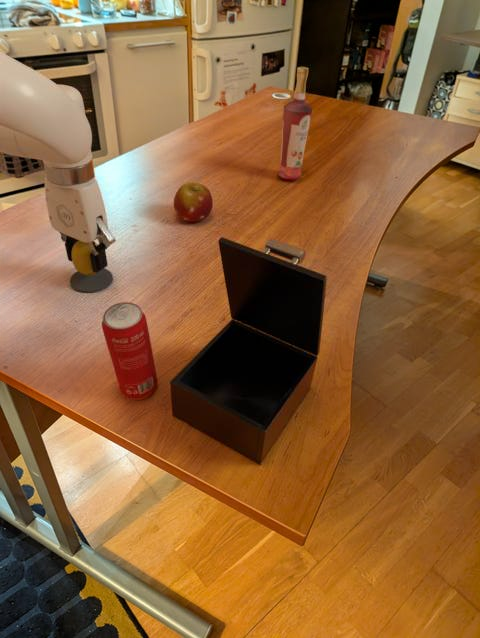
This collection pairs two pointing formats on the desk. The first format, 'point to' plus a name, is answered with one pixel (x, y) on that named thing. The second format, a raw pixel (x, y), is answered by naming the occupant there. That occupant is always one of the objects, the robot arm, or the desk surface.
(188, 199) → the fruit
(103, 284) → the coaster
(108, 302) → the desk surface
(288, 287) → the lid
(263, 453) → the black open square box
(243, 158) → the desk surface
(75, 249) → the lemon
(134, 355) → the beverage can
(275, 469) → the desk surface
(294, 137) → the liquor
